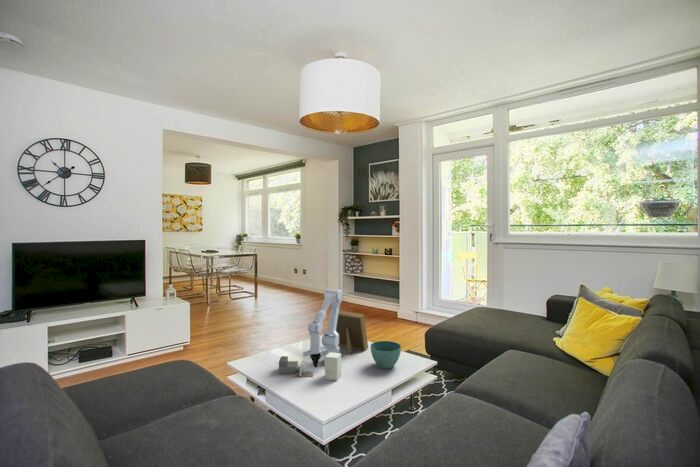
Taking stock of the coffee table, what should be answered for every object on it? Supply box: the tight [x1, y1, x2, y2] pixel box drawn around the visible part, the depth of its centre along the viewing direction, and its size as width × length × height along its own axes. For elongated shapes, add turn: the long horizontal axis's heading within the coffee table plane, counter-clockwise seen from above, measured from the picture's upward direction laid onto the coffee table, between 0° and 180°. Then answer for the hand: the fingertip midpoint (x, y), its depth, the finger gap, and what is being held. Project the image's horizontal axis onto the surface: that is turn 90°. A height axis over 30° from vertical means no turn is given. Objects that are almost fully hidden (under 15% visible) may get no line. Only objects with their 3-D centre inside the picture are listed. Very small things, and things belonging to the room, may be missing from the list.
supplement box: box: [324, 352, 343, 381], centre depth 194 cm, size 7×7×13 cm
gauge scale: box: [292, 372, 314, 378], centre depth 196 cm, size 11×4×1 cm, turn 92°
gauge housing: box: [278, 355, 299, 375], centre depth 202 cm, size 10×8×7 cm
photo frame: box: [336, 309, 369, 355], centre depth 236 cm, size 15×22×25 cm
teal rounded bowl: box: [369, 340, 402, 370], centre depth 209 cm, size 18×18×12 cm
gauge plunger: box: [297, 361, 305, 376], centre depth 200 cm, size 11×12×4 cm
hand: (315, 366), depth 203 cm, fingers closed
